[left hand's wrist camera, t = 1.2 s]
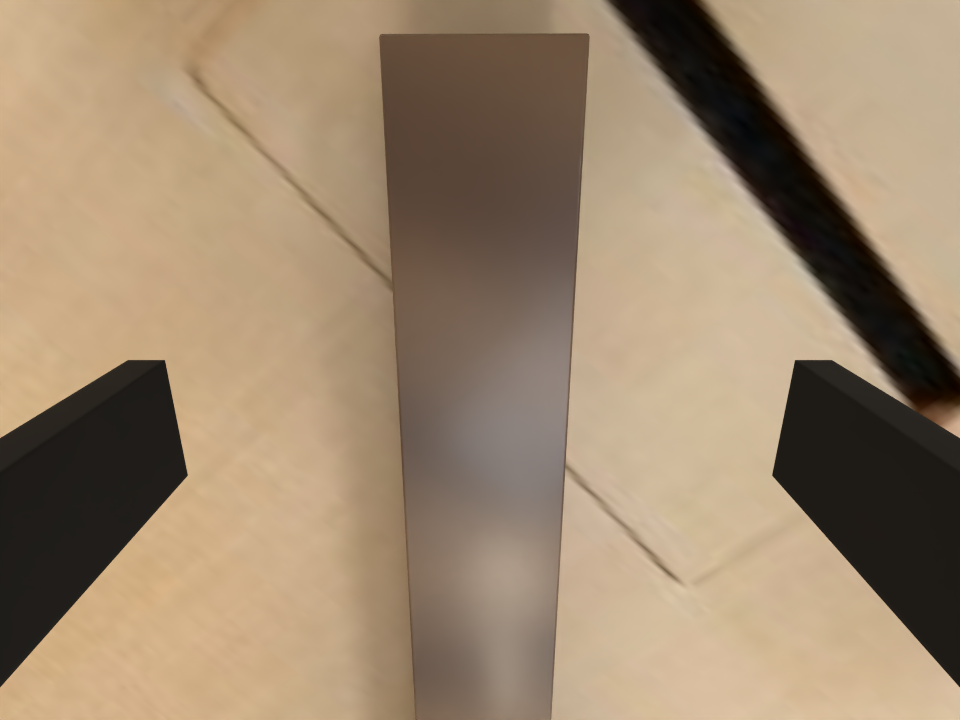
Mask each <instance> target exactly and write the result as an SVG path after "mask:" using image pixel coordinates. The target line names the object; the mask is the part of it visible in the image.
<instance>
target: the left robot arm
mask: <svg viewBox="0 0 960 720" xmlns="http://www.w3.org/2000/svg"><path fill="white" fill-rule="evenodd" d="M187 476H188V474H187V469H186V464H185V459H184V454H183V449H182V444H181V439H180V434H179V429H178V424H177V419H176V414H175V409H174V404H173V399H172V394H171V389H170V384H169V379H168V374H167V369H166V364H165V360H128V361H126V362H124V363H123V364H121V365H119V366H118V367H116V368H115V369H113V370H111V371H110V372H108V373H106V374H105V375H103V376H101V377H100V378H98V379H96V380H95V381H93V382H92V383H90V384H88V385H87V386H85V387H83V388H82V389H80V390H78V391H77V392H75V393H74V394H72V395H70V396H69V397H67V398H65V399H64V400H62V401H60V402H59V403H57V404H56V405H54V406H52V407H51V408H49V409H47V410H46V411H44V412H42V413H41V414H39V415H37V416H36V417H34V418H33V419H31V420H29V421H28V422H26V423H24V424H23V425H21V426H19V427H18V428H16V429H15V430H13V431H11V432H10V433H8V434H6V435H5V436H3V437H1V438H0V687H1V686H2V685H3V684H4V682H5V681H6V680H7V679H8V678H9V677H10V676H11V674H12V673H13V672H14V671H15V670H16V669H17V668H18V667H19V665H20V664H21V663H22V662H23V661H24V660H25V659H26V658H27V656H28V655H29V654H30V653H31V652H32V651H33V650H34V649H35V647H36V646H37V645H38V644H39V643H40V642H41V641H42V639H43V638H44V637H45V636H46V635H47V634H48V633H49V632H50V630H51V629H52V628H53V627H54V626H55V625H56V624H57V623H58V621H59V620H60V619H61V618H62V617H63V616H64V615H65V614H66V612H67V611H68V610H69V609H70V608H71V607H72V606H73V604H74V603H75V602H76V601H77V600H78V599H79V598H80V597H81V595H82V594H83V593H84V592H85V591H86V590H87V589H88V588H89V586H90V585H91V584H92V583H93V582H94V581H95V580H96V578H97V577H98V576H99V575H100V574H101V573H102V572H103V571H104V569H105V568H106V567H107V566H108V565H109V564H110V563H111V562H112V560H113V559H114V558H115V557H116V556H117V555H118V554H119V553H120V551H121V550H122V549H123V548H124V547H125V546H126V545H127V543H128V542H129V541H130V540H131V539H132V538H133V537H134V536H135V534H136V533H137V532H138V531H139V530H140V529H141V528H142V527H143V525H144V524H145V523H146V522H147V521H148V520H149V519H150V518H151V516H152V515H153V514H154V513H155V512H156V511H157V510H158V508H159V507H160V506H161V505H162V504H163V503H164V502H165V501H166V499H167V498H168V497H169V496H170V495H171V494H172V493H173V492H174V490H175V489H176V488H177V487H178V486H179V485H180V484H181V483H182V481H183V480H184V479H185V478H186V477H187ZM772 476H773V477H774V478H775V479H776V480H777V481H778V483H779V484H780V485H781V486H782V487H783V488H784V489H785V490H786V492H787V493H788V494H789V495H790V496H791V497H792V498H793V499H794V501H795V502H796V503H797V504H798V505H799V506H800V507H801V508H802V510H803V511H804V512H805V513H806V514H807V515H808V516H809V518H810V519H811V520H812V521H813V522H814V523H815V524H816V525H817V527H818V528H819V529H820V530H821V531H822V532H823V533H824V534H825V536H826V537H827V538H828V539H829V540H830V541H831V542H832V543H833V545H834V546H835V547H836V548H837V549H838V550H839V551H840V553H841V554H842V555H843V556H844V557H845V558H846V559H847V560H848V562H849V563H850V564H851V565H852V566H853V567H854V568H855V569H856V571H857V572H858V573H859V574H860V575H861V576H862V577H863V579H864V580H865V581H866V582H867V583H868V584H869V585H870V586H871V588H872V589H873V590H874V591H875V592H876V593H877V594H878V595H879V597H880V598H881V599H882V600H883V601H884V602H885V603H886V604H887V606H888V607H889V608H890V609H891V610H892V611H893V612H894V614H895V615H896V616H897V617H898V618H899V619H900V620H901V621H902V623H903V624H904V625H905V626H906V627H907V628H908V629H909V630H910V632H911V633H912V634H913V635H914V636H915V637H916V638H917V639H918V641H919V642H920V643H921V644H922V645H923V646H924V647H925V649H926V650H927V651H928V652H929V653H930V654H931V655H932V656H933V658H934V659H935V660H936V661H937V662H938V663H939V664H940V665H941V667H942V668H943V669H944V670H945V671H946V672H947V673H948V674H949V676H950V677H951V678H952V679H953V680H954V681H955V682H956V684H957V685H958V686H959V687H960V438H959V437H957V436H955V435H954V434H952V433H950V432H949V431H947V430H945V429H944V428H942V427H941V426H939V425H937V424H936V423H934V422H932V421H931V420H929V419H927V418H926V417H924V416H922V415H921V414H919V413H918V412H916V411H914V410H913V409H911V408H909V407H908V406H906V405H904V404H903V403H901V402H900V401H898V400H896V399H895V398H893V397H891V396H890V395H888V394H886V393H885V392H883V391H882V390H880V389H878V388H877V387H875V386H873V385H872V384H870V383H868V382H867V381H865V380H864V379H862V378H860V377H859V376H857V375H855V374H854V373H852V372H850V371H849V370H847V369H845V368H844V367H842V366H841V365H839V364H837V363H836V362H834V361H832V360H795V364H794V369H793V374H792V379H791V384H790V389H789V394H788V399H787V404H786V409H785V414H784V419H783V424H782V429H781V434H780V439H779V444H778V449H777V454H776V459H775V464H774V469H773V474H772Z"/></svg>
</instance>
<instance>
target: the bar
mask: <svg viewBox="0 0 960 720" xmlns="http://www.w3.org/2000/svg"><path fill="white" fill-rule="evenodd" d="M379 41H380V60H381V79H382V97H383V116H384V135H385V154H386V173H387V191H388V210H389V229H390V248H391V266H392V285H393V304H394V323H395V342H396V360H397V379H398V398H399V417H400V435H401V454H402V473H403V492H404V511H405V529H406V548H407V567H408V586H409V604H410V623H411V642H412V661H413V680H414V698H415V717H416V720H551V712H552V694H553V676H554V659H555V641H556V623H557V605H558V588H559V570H560V552H561V534H562V516H563V499H564V481H565V463H566V445H567V428H568V410H569V392H570V374H571V356H572V339H573V321H574V303H575V285H576V268H577V250H578V232H579V214H580V196H581V179H582V161H583V143H584V125H585V108H586V90H587V72H588V54H589V34H381V35H380V37H379Z"/></svg>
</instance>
